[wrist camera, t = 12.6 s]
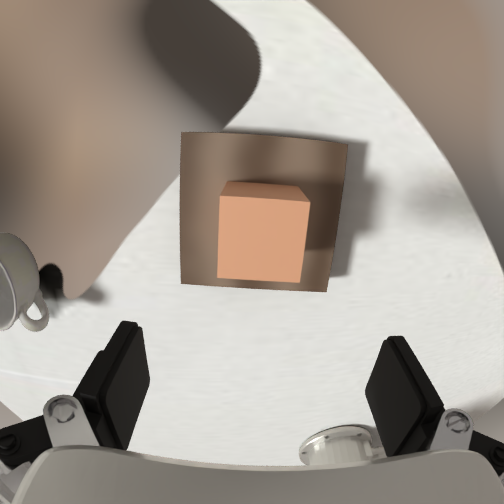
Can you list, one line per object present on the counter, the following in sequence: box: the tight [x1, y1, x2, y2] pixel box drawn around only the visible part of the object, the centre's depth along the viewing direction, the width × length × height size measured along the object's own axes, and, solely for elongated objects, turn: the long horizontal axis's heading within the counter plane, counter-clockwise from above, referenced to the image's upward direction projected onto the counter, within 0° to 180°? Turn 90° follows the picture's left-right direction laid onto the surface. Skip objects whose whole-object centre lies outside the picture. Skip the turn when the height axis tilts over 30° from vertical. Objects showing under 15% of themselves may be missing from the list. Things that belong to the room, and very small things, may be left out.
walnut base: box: [180, 132, 348, 292], centre depth 29 cm, size 14×14×3 cm
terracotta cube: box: [217, 181, 310, 283], centre depth 25 cm, size 6×6×6 cm
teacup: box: [0, 233, 49, 332], centre depth 29 cm, size 14×11×8 cm
